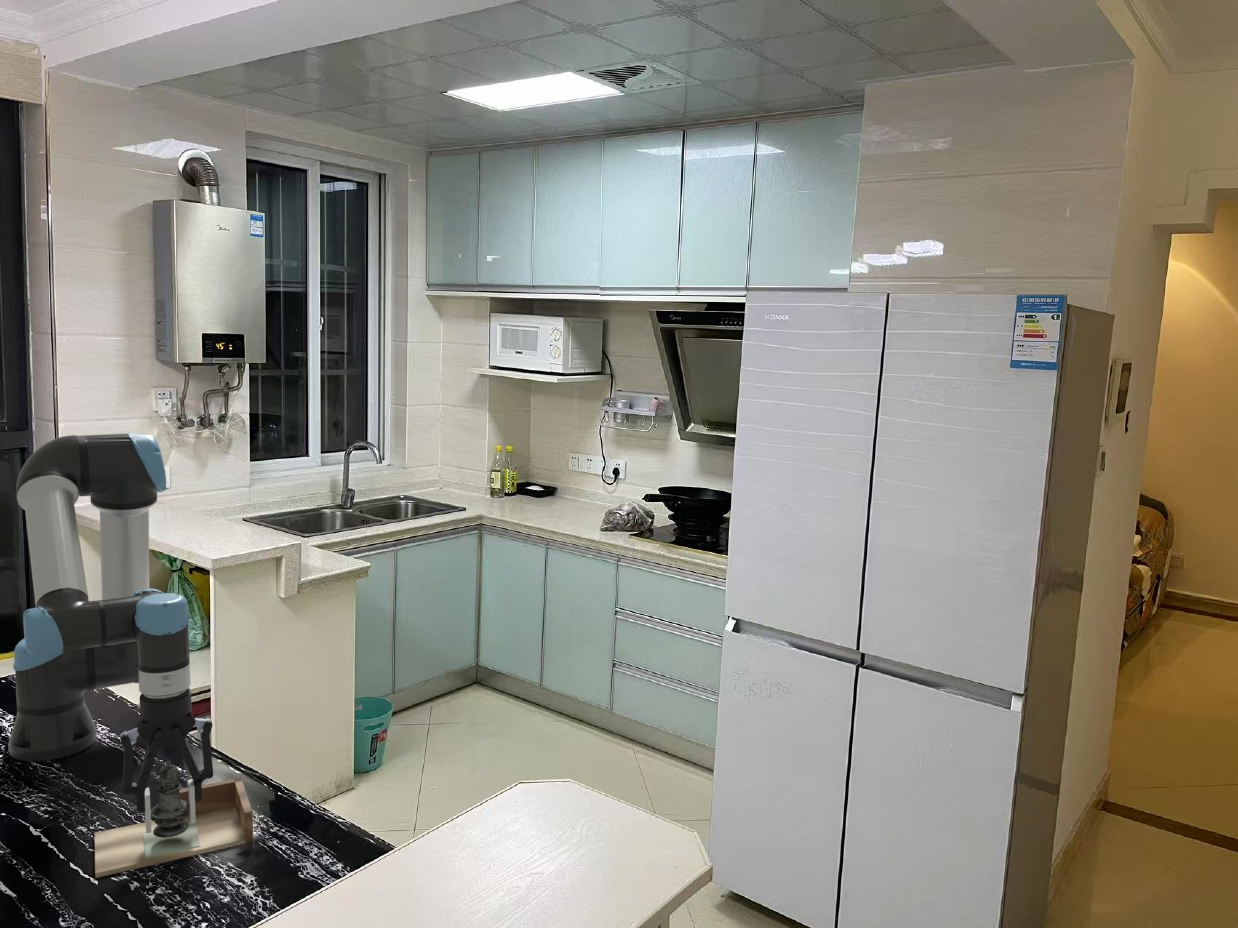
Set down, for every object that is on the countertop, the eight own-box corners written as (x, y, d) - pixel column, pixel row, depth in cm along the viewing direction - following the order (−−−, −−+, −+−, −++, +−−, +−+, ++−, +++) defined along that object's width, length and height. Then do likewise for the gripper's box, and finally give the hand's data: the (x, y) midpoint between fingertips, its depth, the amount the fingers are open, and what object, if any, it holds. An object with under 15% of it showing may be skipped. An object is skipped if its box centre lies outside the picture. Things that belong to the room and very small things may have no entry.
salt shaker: (198, 822, 155) (195, 754, 153) (174, 840, 149) (171, 770, 147) (167, 817, 156) (164, 750, 154) (142, 835, 150) (139, 766, 149)
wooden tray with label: (94, 837, 154) (93, 806, 154) (241, 806, 166) (241, 777, 165) (95, 877, 143) (93, 845, 143) (253, 841, 155) (252, 811, 154)
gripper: (98, 708, 141) (105, 849, 145) (231, 688, 151) (235, 821, 154) (98, 691, 148) (105, 826, 151) (225, 673, 157) (229, 801, 160)
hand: (170, 823), depth 153 cm, fingers closed on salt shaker, 6 cm apart
